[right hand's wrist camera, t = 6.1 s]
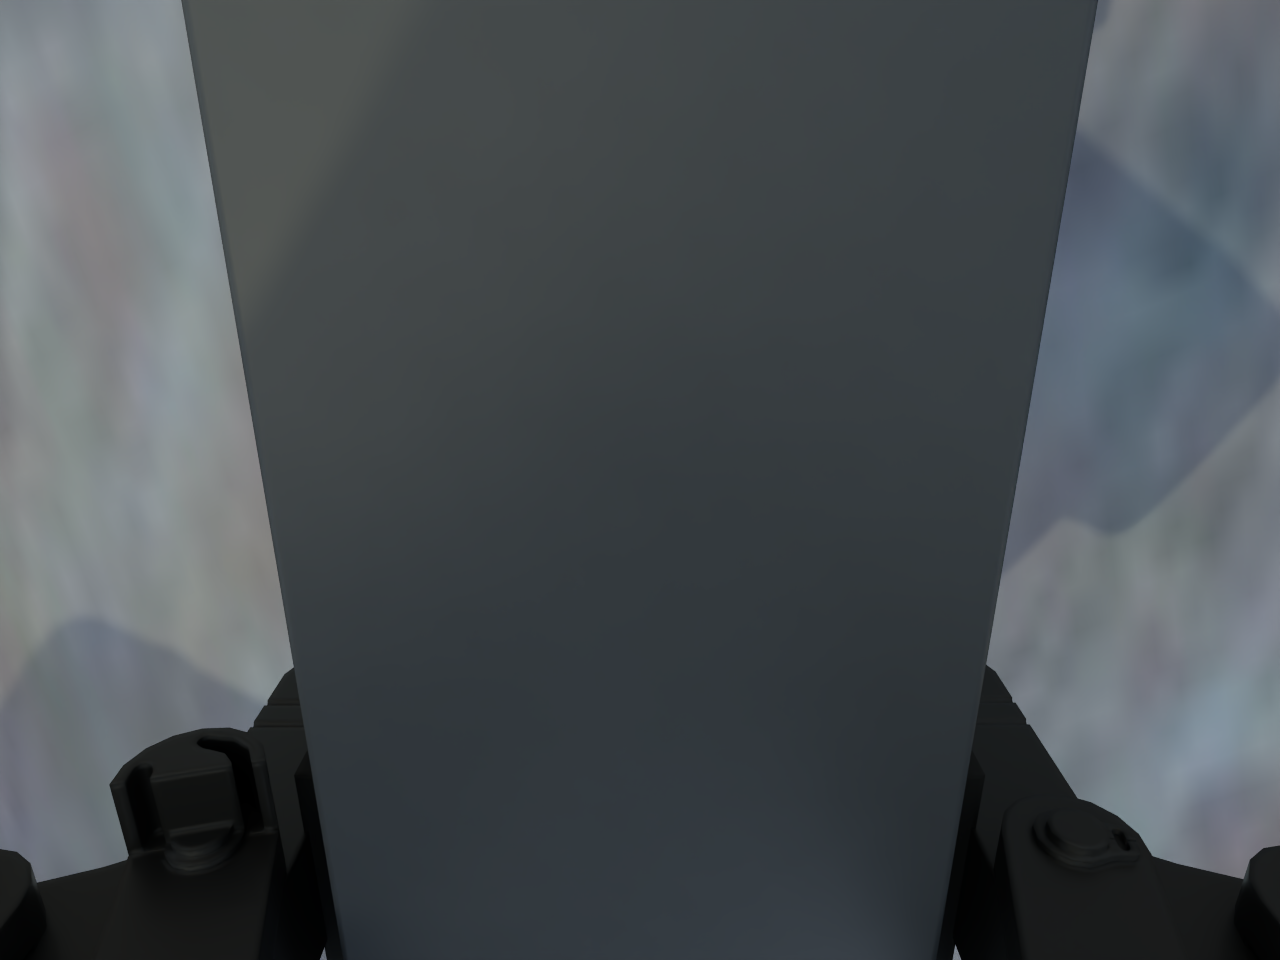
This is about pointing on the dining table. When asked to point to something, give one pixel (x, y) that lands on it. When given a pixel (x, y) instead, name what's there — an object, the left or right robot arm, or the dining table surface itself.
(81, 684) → the dining table surface
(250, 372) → the bar
